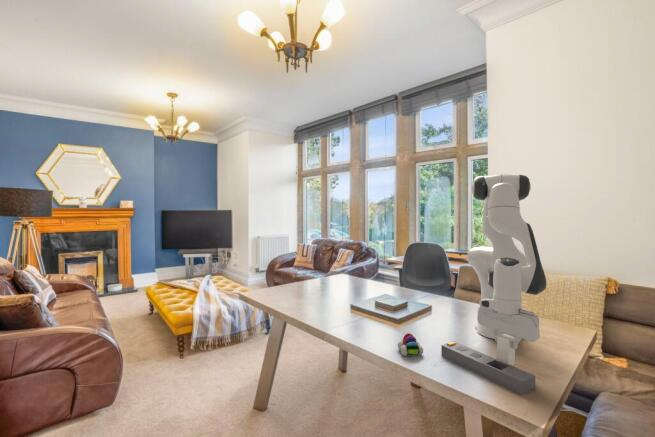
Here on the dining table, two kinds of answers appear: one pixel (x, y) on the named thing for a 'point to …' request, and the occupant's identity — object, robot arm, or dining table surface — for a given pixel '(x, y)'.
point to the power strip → (489, 367)
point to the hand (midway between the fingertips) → (506, 345)
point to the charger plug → (505, 349)
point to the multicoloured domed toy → (410, 345)
